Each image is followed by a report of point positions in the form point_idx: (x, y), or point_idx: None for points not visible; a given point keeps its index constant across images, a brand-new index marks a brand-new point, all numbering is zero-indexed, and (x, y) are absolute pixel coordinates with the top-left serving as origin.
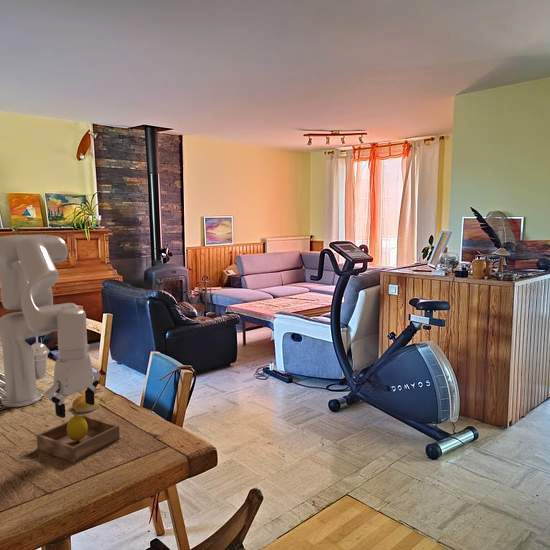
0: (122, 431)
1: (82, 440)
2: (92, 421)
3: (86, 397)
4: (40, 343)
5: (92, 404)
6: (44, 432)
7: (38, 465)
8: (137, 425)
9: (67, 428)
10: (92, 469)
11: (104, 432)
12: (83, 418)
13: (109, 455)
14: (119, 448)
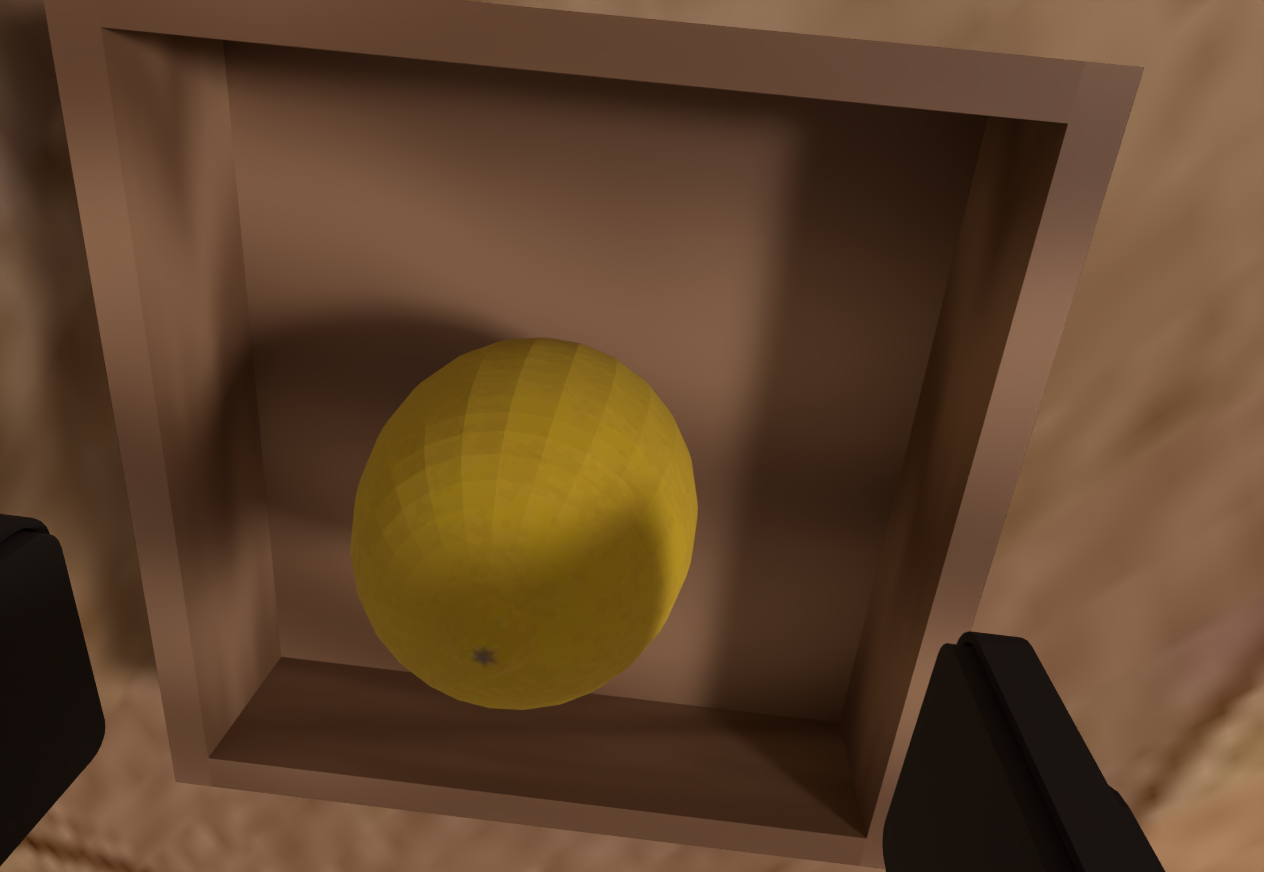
0: (1042, 655)
1: None
2: (976, 384)
3: (988, 837)
4: None
5: (893, 858)
6: (190, 4)
7: (8, 387)
8: (1246, 709)
9: (362, 474)
10: (295, 855)
11: (662, 832)
12: (577, 696)
13: (537, 837)
14: None
